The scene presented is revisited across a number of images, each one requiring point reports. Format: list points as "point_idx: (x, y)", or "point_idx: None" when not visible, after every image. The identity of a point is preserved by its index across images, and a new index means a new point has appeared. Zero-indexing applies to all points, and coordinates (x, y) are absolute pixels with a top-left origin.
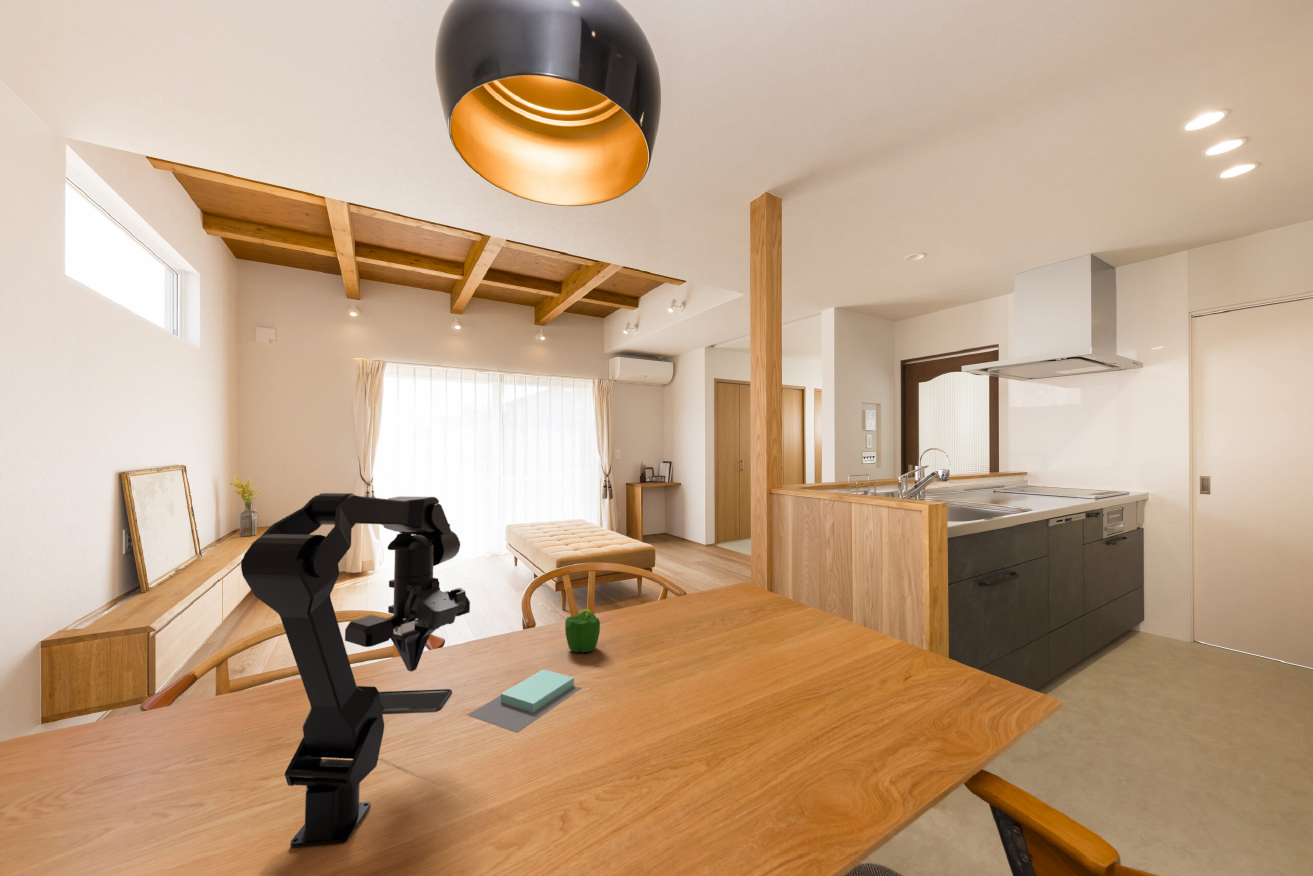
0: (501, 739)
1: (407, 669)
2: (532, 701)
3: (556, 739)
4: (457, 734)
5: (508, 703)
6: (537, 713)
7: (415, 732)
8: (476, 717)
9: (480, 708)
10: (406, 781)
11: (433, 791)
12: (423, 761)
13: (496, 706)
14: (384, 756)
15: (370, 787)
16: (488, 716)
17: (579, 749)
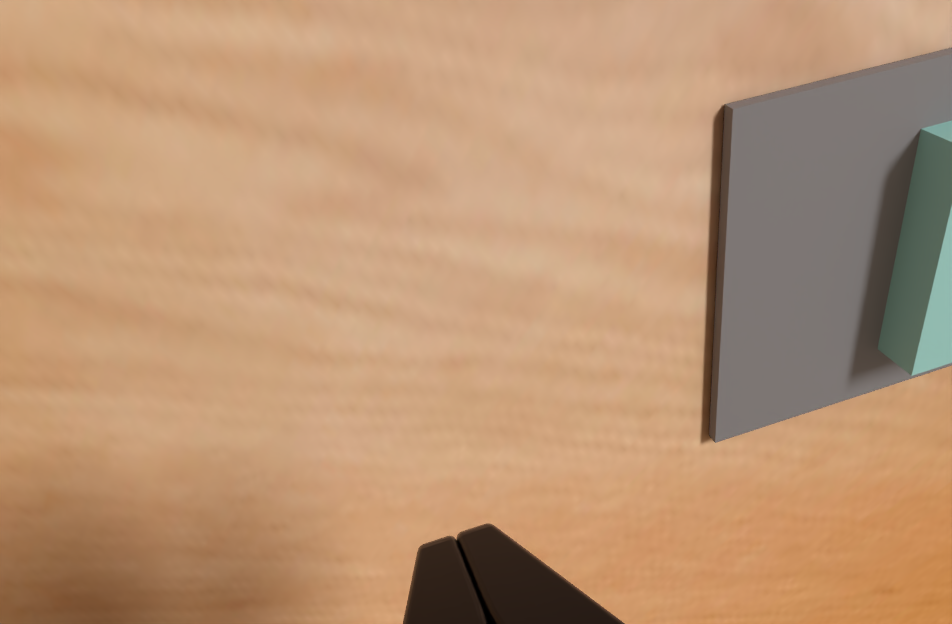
0: (652, 422)
1: (418, 560)
2: (930, 354)
3: (751, 537)
4: (570, 245)
5: (914, 195)
6: (878, 365)
7: (425, 15)
8: (732, 188)
9: (821, 104)
10: (182, 458)
11: (253, 573)
12: (314, 361)
13: (873, 155)
14: (150, 158)
15: (3, 402)
16: (769, 226)
17: (734, 615)
